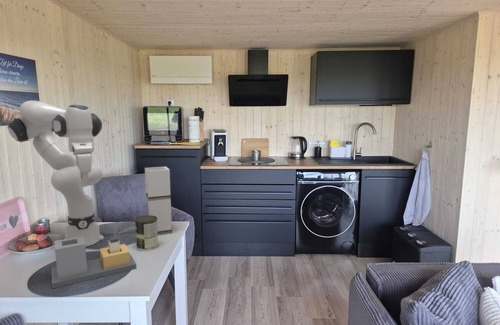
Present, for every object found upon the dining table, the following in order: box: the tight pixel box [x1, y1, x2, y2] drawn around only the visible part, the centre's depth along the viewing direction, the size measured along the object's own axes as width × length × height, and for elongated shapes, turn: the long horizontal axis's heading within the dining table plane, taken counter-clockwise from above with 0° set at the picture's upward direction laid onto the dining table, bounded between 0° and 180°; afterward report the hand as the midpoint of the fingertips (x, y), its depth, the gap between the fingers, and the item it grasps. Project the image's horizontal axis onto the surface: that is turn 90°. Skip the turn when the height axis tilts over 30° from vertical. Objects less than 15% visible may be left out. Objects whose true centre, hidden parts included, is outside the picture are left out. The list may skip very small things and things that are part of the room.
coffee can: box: [134, 214, 159, 251], centre depth 156 cm, size 10×10×14 cm
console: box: [50, 236, 137, 289], centre depth 132 cm, size 14×30×14 cm, turn 122°
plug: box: [107, 236, 121, 254], centre depth 136 cm, size 4×4×10 cm
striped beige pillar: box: [144, 166, 173, 236], centre depth 175 cm, size 11×11×35 cm
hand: (84, 180), depth 130 cm, fingers open, 8 cm apart
